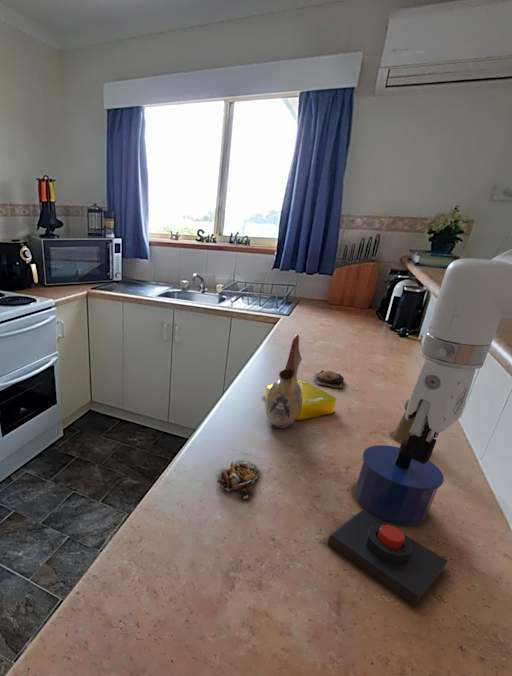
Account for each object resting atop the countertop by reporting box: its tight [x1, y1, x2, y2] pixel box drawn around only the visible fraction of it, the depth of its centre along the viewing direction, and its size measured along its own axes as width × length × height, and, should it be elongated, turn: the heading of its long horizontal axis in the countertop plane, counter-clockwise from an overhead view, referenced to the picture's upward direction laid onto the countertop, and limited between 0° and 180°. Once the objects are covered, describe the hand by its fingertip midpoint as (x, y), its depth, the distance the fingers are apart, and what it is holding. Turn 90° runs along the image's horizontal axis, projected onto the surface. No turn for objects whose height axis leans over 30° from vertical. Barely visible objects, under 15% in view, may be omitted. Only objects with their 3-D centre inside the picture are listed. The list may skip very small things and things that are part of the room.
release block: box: [327, 509, 448, 607], centre depth 66 cm, size 14×11×4 cm
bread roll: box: [316, 370, 345, 389], centre depth 134 cm, size 11×8×4 cm
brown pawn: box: [392, 398, 414, 444], centre depth 100 cm, size 6×6×11 cm
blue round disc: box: [362, 439, 445, 490], centre depth 75 cm, size 14×14×6 cm
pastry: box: [216, 460, 260, 500], centre depth 83 cm, size 7×12×4 cm, turn 153°
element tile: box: [264, 379, 337, 421], centre depth 116 cm, size 15×15×5 cm
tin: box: [354, 460, 439, 527], centre depth 78 cm, size 13×13×8 cm
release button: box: [377, 524, 405, 550], centre depth 65 cm, size 4×4×2 cm
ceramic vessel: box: [264, 334, 303, 429], centre depth 101 cm, size 16×9×25 cm, turn 154°
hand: (416, 457), depth 63 cm, fingers closed
